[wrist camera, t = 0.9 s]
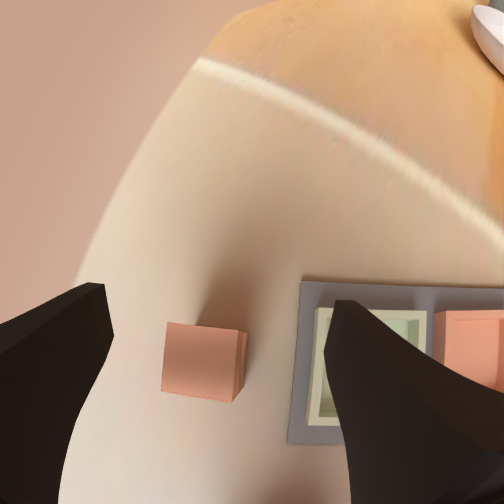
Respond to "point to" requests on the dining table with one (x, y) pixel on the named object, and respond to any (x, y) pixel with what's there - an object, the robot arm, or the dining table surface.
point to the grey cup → (497, 5)
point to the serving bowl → (489, 33)
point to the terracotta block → (204, 361)
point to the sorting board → (407, 326)
